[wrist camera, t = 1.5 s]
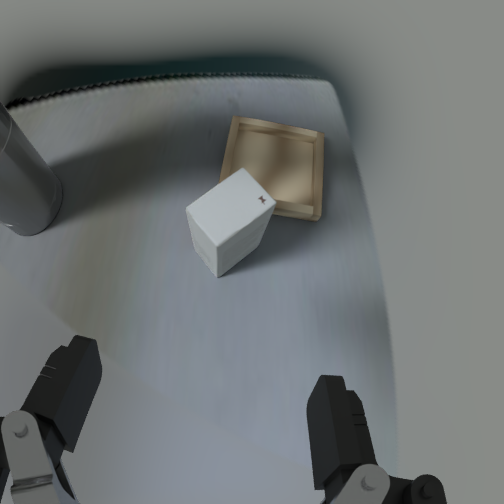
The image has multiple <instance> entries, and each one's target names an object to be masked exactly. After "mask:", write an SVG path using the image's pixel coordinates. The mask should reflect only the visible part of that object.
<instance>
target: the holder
mask: <svg viewBox="0 0 504 504" xmlns="http://www.w3.org/2000/svg"><path fill="white" fill-rule="evenodd" d="M323 162H324V133H321V132H317V131H312V130H308V129H303V128H299V127H294V126H289V125H284V124H279V123H274V122H269V121H263V120H257V119H252V118H246V117H239V116H233V118H232V122H231V127H230V131H229V136H228V140H227V145H226V150H225V155H224V159H223V164H222V169H221V174H220V179H219V183H221V182H222V181H223V180H225V179H226V178H228V177H229V176H231V175H232V174H234V173H235V172H237V171H238V170H240V169H241V168H244V169H245V170H246V171H247V172H248V173H249V174H250V175H251V176H252V177H253V178H254V179H255V180H256V181H257V182H258V183H259V184H260V185H261V186H262V187H263V188H264V189H265V190H266V192H267V193H268V194H269V195H270V196H271V197H272V198H273V199H274V200H275V201H276V206H275V208H274V211H273V213H272V214H275V215H280V216H286V217H292V218H297V219H303V220H308V221H314V222H317V221H318V219H319V218H320V217H321V210H322V189H323Z"/></svg>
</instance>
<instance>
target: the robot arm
mask: <svg viewBox="0 0 504 504" xmlns="http://www.w3.org/2000/svg"><path fill="white" fill-rule="evenodd" d="M61 201H62V186H61V183H60V181H59V179H58V178H57V177H56V175H55V174H54V173H53V172H52V170H51V169H50V168H49V166H48V165H47V164H46V162H45V161H44V160H43V159H42V157H41V156H40V155H39V153H38V152H37V151H36V149H35V148H34V147H33V145H32V144H31V143H30V142H29V140H28V139H27V137H26V136H25V135H24V133H23V132H22V131H21V129H20V128H19V127H18V125H17V124H16V122H15V121H14V120H13V118H12V117H11V115H10V114H9V113H8V111H7V110H6V108H5V107H4V106H3V104H2V103H1V101H0V222H1V223H2V224H4V225H5V226H6V227H8V228H9V229H11V230H12V231H14V232H15V233H17V234H19V235H23V236H31V235H34V234H37V233H39V232H40V231H42V230H44V229H45V228H46V227H47V226H48V225H49V224H50V223H51V222H52V221H53V219H54V218H55V216H56V214H57V213H58V210H59V208H60V205H61ZM101 377H102V365H101V361H100V356H99V351H98V346H97V342H96V340H95V339H91V338H87V337H83V336H79V335H75V336H74V337H73V339H72V341H71V342H70V344H69V346H68V347H65V346H62V345H61V346H60V347H59V348H58V349H56V350H55V351H54V352H53V353H52V354H51V355H50V357H49V358H48V360H47V362H46V364H45V367H43V369H42V371H41V372H40V376H38V378H37V380H36V381H35V383H34V385H33V387H32V389H31V391H30V393H29V395H28V397H27V398H26V400H25V402H24V404H23V406H22V407H21V409H20V410H18V411H13V412H11V413H9V414H8V415H7V416H6V417H0V503H1V499H2V495H3V492H4V488H5V485H6V482H7V478H8V475H9V472H10V471H11V475H12V478H13V486H11V496H12V499H13V502H14V504H80V503H79V501H78V499H77V497H76V494H75V492H74V490H73V487H72V485H71V483H70V480H69V478H68V475H67V473H66V470H65V468H64V465H63V462H62V459H61V455H62V452H63V450H67V451H69V452H72V453H73V452H74V449H75V446H76V443H77V440H78V437H79V435H80V432H81V429H82V427H83V424H84V422H85V419H86V416H87V414H88V411H89V408H90V406H91V403H92V401H93V398H94V396H95V394H96V391H97V389H98V386H99V384H100V381H101ZM364 415H365V413H364V409H363V405H362V401H361V400H360V399H359V397H358V396H357V394H356V393H355V392H354V391H352V390H346V386H345V382H344V379H343V377H342V376H333V375H321V376H320V377H319V379H318V381H317V383H316V385H315V387H314V389H313V391H312V393H311V395H310V397H309V399H308V403H307V422H308V431H309V440H310V449H311V458H312V468H313V477H314V487H315V490H325V498H324V499H323V500H322V501H321V503H320V504H447V502H446V497H445V493H444V489H443V485H442V483H441V482H440V480H439V479H438V478H436V477H435V476H432V475H428V474H427V475H421V476H419V477H417V478H416V479H415V480H408V479H402V478H396V477H392V476H390V475H388V474H387V473H386V471H385V470H384V469H383V468H381V467H379V466H378V464H377V462H376V459H375V454H374V450H373V446H372V441H371V437H370V433H369V429H368V426H367V421H366V417H365V416H364Z"/></svg>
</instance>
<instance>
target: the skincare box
mask: <svg viewBox="0 0 504 504" xmlns="http://www.w3.org/2000/svg"><path fill="white" fill-rule="evenodd" d="M275 206H276V201H275V200H274V199H273V198H272V197H271V196H270V195H269V194H268V193H267V192H266V190H265V189H264V188H263V187H262V186H261V185H260V184H259V183H258V182H257V181H256V180H255V179H254V178H253V177H252V176H251V175H250V174H249V173H248V172H247V171H246V170H245V169H244V168H241V169H240V170H238V171H237V172H235V173H234V174H232V175H231V176H229V177H228V178H226V179H225V180H223V181H222V182H221V183H219V184H218V185H216V186H215V187H214V188H212V189H211V190H209V191H208V192H207V193H205V194H204V195H203V196H201V197H200V198H198V199H197V200H196V201H194V202H193V203H192V204H190V205H189V206H187V207H186V213H187V218H188V222H189V227H190V231H191V235H192V240H193V244H194V248H195V251H196V252H197V254H198V255H199V256H200V257H201V259H202V260H203V261H204V262H205V264H206V265H207V266H208V267H209V269H210V270H211V271H212V272H213V274H214V275H215V276H216V277H217V278H219V277H220V276H221V275H223V274H224V273H225V272H227V271H228V270H229V269H230V268H232V267H233V266H234V265H235V264H237V263H238V262H239V261H240V260H242V259H243V258H244V257H246V256H247V255H248V254H249V253H251V252H252V251H253V250H254V249H256V248H257V247H258V246H259V244H260V241H261V239H262V237H263V234H264V232H265V229H266V227H267V225H268V222H269V220H270V217H271V215H272V213H273V211H274V208H275Z"/></svg>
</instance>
